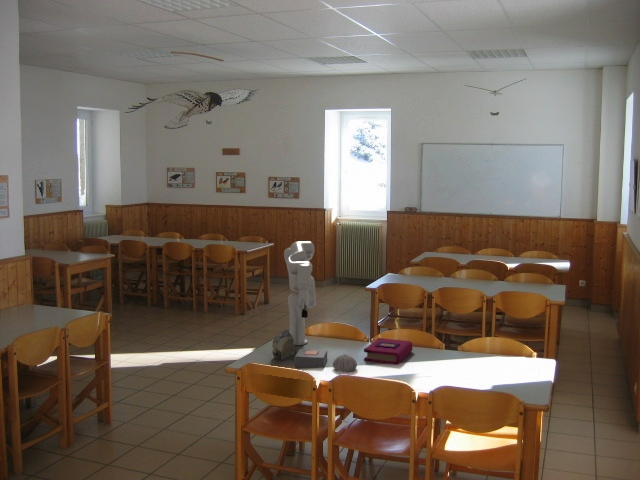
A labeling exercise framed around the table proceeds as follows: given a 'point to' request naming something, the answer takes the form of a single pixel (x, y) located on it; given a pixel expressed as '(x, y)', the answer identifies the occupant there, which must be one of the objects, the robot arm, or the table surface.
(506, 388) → the table surface
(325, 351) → the button box
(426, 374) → the table surface
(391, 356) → the book
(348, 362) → the sea urchin shell
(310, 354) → the button
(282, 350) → the fossil rock
